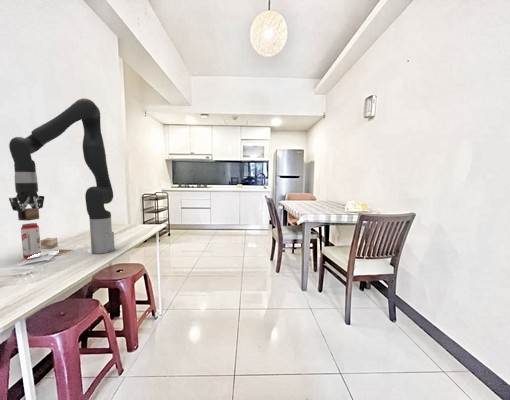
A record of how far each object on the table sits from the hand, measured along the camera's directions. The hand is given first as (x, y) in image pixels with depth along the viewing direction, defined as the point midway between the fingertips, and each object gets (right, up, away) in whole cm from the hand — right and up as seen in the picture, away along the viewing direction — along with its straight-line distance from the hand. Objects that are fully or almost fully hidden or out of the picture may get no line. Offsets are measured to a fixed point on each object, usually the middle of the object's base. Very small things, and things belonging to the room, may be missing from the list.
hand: (29, 218), depth 110 cm
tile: (+7, -18, +9) cm, 21 cm away
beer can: (0, -19, +1) cm, 19 cm away
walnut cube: (0, 0, 0) cm, 1 cm away
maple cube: (-6, -17, +18) cm, 26 cm away
